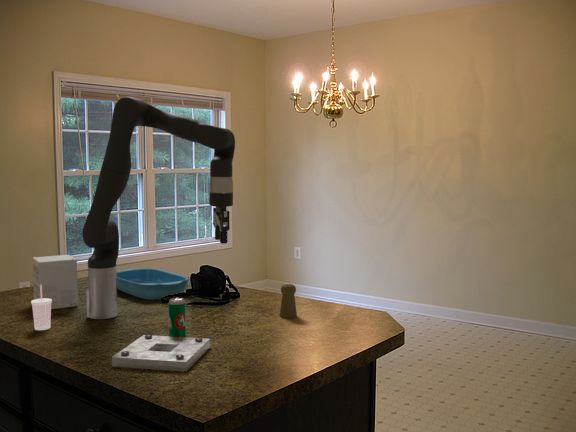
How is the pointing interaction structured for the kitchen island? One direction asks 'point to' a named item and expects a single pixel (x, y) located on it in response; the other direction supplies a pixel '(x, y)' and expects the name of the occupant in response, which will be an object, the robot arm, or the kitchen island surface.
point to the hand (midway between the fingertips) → (220, 241)
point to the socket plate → (161, 353)
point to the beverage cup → (42, 312)
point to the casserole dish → (150, 283)
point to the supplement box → (56, 280)
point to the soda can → (177, 317)
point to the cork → (288, 301)
